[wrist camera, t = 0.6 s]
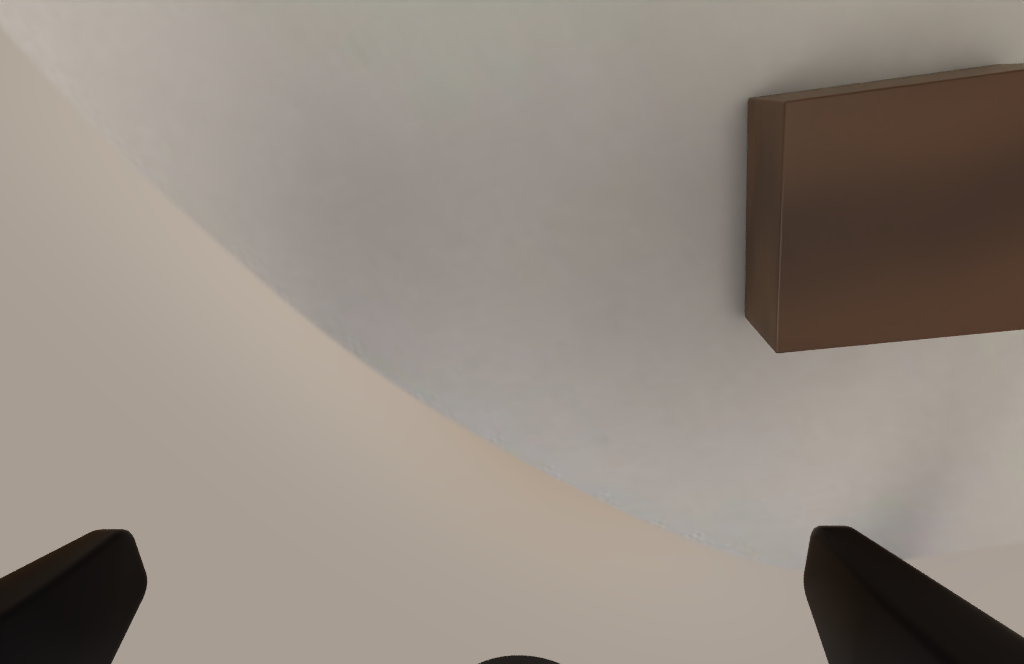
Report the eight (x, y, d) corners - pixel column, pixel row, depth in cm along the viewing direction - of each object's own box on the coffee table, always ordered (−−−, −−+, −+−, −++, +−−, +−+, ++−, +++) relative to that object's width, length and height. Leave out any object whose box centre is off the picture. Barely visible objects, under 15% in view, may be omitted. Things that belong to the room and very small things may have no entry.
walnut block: (963, 295, 20) (1030, 329, 17) (744, 317, 21) (775, 354, 18) (999, 63, 17) (1086, 60, 14) (747, 98, 18) (784, 101, 15)
